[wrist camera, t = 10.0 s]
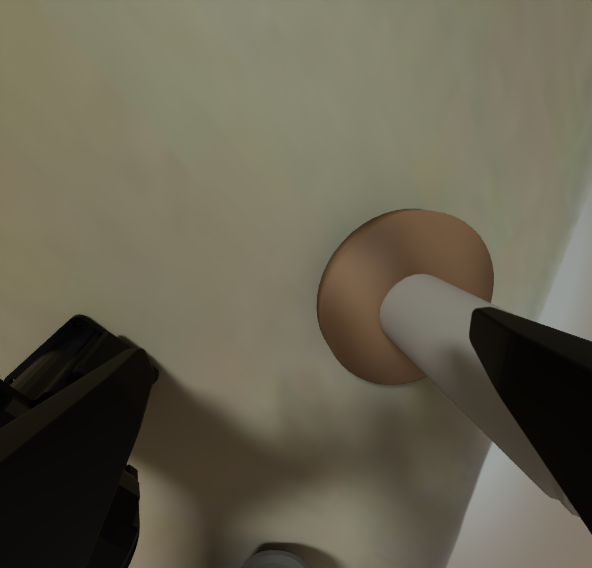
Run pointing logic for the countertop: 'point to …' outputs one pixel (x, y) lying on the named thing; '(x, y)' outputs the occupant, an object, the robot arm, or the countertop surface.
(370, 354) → the disc
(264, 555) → the bluetooth speaker
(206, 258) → the countertop surface
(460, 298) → the beverage can
